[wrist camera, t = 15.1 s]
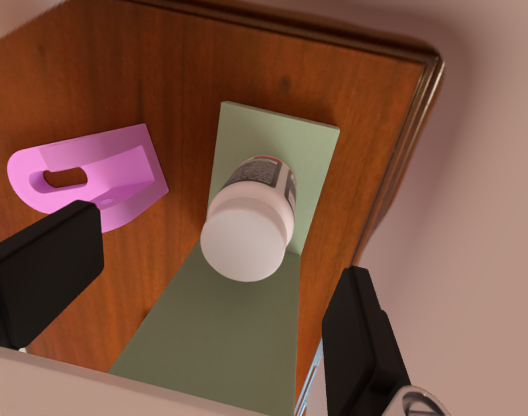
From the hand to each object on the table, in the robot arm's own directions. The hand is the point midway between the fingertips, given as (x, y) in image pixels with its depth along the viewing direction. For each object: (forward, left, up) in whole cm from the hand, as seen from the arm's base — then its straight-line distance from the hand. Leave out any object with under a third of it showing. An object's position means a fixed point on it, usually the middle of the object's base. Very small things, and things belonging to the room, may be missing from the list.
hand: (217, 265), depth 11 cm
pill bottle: (+1, 0, -11) cm, 11 cm away
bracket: (-8, -13, -12) cm, 19 cm away
